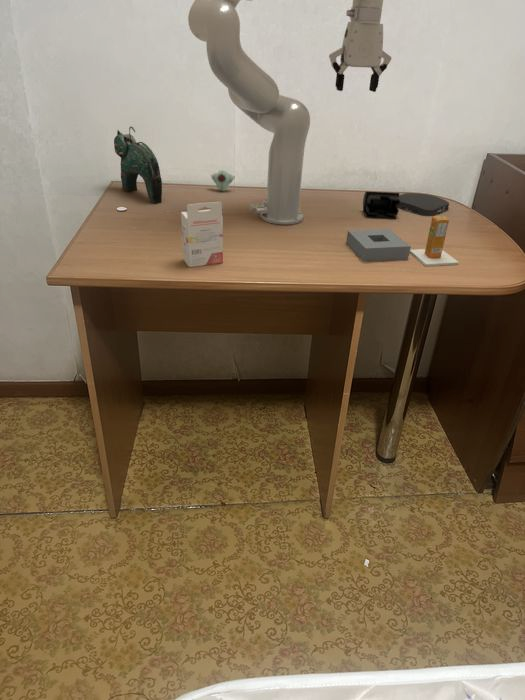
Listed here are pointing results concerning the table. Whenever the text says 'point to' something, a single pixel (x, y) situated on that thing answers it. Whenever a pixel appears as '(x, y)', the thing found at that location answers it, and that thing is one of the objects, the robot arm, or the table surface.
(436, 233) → the supplement box
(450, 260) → the rubber mat
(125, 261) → the table surface
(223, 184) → the valved respirator
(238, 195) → the table surface
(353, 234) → the pocket block
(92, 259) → the table surface
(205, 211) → the ink cartridge box
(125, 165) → the ceramic cat
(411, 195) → the media streaming box
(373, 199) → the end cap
